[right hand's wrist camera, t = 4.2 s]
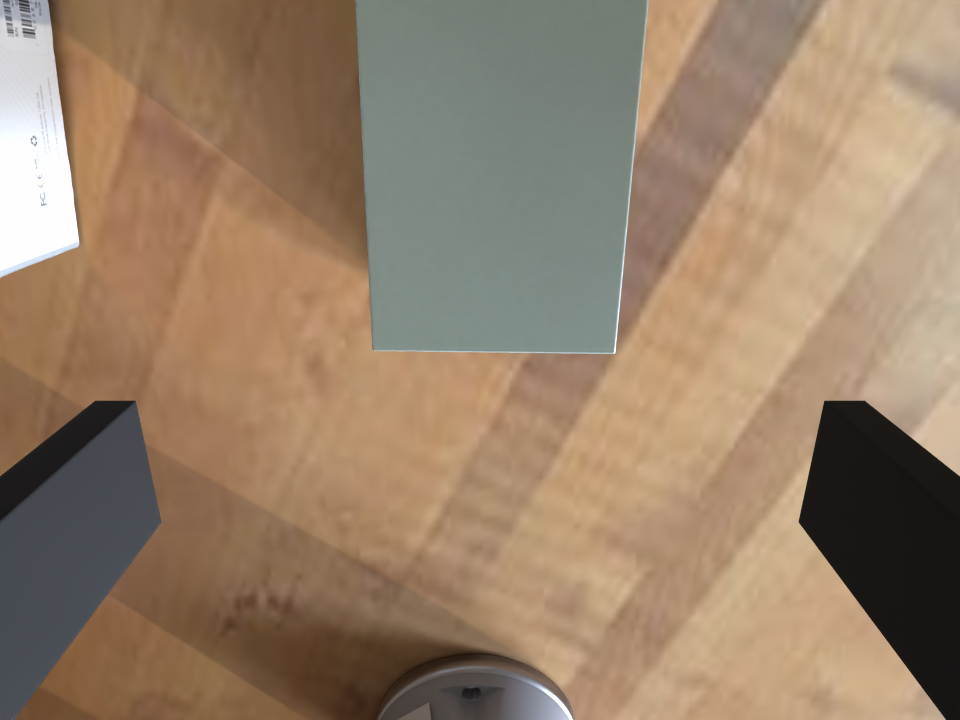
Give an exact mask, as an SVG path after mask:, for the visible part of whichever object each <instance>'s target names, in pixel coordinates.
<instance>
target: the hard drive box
mask: <svg viewBox="0 0 960 720" xmlns="http://www.w3.org/2000/svg"><path fill="white" fill-rule="evenodd" d="M78 246H79V238H78V230H77V222H76V215H75V208H74V196H73V189H72V182H71V172H70V165H69V160H68V156H67V147H66V140H65V133H64V125H63V116H62V108H61V101H60V95H59V88H58V79H57V71H56V63H55V56H54V50H53V33H52V27H51V21H50V12H49V4H48V0H0V277H2V276H5V275H7V274H10V273H12V272H15V271H17V270H19V269H22V268H24V267H27V266H29V265H32V264H35V263H37V262H40V261H43V260H45V259H48V258H50V257H53V256H55V255H58V254H60V253H63V252H65V251H68V250H71V249H73V248H77V247H78Z"/></svg>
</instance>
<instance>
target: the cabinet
mask: <svg viewBox="0 0 960 720" xmlns="http://www.w3.org/2000/svg"><path fill="white" fill-rule="evenodd" d="M355 5H356V25H357V45H358V66H359V86H360V106H361V126H362V147H363V167H364V187H365V207H366V228H367V248H368V268H369V288H370V309H371V329H372V349H373V350H374V351H432V352H514V353H596V354H614V353H615V349H616V339H617V328H618V318H619V307H620V296H621V286H622V275H623V265H624V254H625V244H626V233H627V222H628V212H629V201H630V191H631V180H632V170H633V159H634V148H635V138H636V127H637V117H638V106H639V96H640V85H641V74H642V64H643V53H644V43H645V32H646V22H647V11H648V0H355Z"/></svg>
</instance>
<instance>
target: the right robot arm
mask: <svg viewBox="0 0 960 720" xmlns="http://www.w3.org/2000/svg"><path fill="white" fill-rule="evenodd" d="M160 523H161V518H160V513H159V509H158V504H157V499H156V495H155V490H154V485H153V480H152V476H151V471H150V466H149V462H148V457H147V452H146V448H145V443H144V438H143V433H142V429H141V424H140V419H139V415H138V410H137V405H136V401H95V402H93V403H92V404H91V405H90V406H88V407H87V408H86V409H84V410H83V411H82V412H81V413H79V414H78V415H77V416H76V417H74V418H73V419H72V420H71V421H69V422H68V423H67V424H66V425H64V426H63V427H62V428H61V429H59V430H58V431H57V432H56V433H54V434H53V435H52V436H51V437H49V438H48V439H47V440H45V441H44V442H43V443H42V444H40V445H39V446H38V447H37V448H35V449H34V450H33V451H32V452H30V453H29V454H28V455H27V456H25V457H24V458H23V459H22V460H20V461H19V462H18V463H17V464H15V465H14V466H13V467H12V468H10V469H9V470H8V471H7V472H5V473H4V474H3V475H1V476H0V720H14V719H15V718H16V716H17V715H18V714H19V712H20V711H21V710H22V708H23V707H24V706H25V704H26V703H27V702H28V700H29V699H30V697H31V696H32V695H33V693H34V692H35V691H36V689H37V688H38V687H39V685H40V684H41V683H42V681H43V680H44V679H45V677H46V676H47V675H48V673H49V672H50V671H51V669H52V668H53V667H54V665H55V664H56V663H57V661H58V660H59V659H60V657H61V656H62V655H63V653H64V652H65V651H66V649H67V648H68V647H69V645H70V644H71V643H72V641H73V640H74V639H75V637H76V636H77V634H78V633H79V632H80V630H81V629H82V628H83V626H84V625H85V624H86V622H87V621H88V620H89V618H90V617H91V616H92V614H93V613H94V612H95V610H96V609H97V608H98V606H99V605H100V604H101V602H102V601H103V600H104V598H105V597H106V596H107V594H108V593H109V592H110V590H111V589H112V588H113V586H114V585H115V584H116V582H117V581H118V580H119V578H120V577H121V576H122V574H123V573H124V571H125V570H126V569H127V567H128V566H129V565H130V563H131V562H132V561H133V559H134V558H135V557H136V555H137V554H138V553H139V551H140V550H141V549H142V547H143V546H144V545H145V543H146V542H147V541H148V539H149V538H150V537H151V535H152V534H153V533H154V531H155V530H156V529H157V527H158V526H159V525H160ZM799 523H800V525H801V526H802V527H803V529H804V530H805V531H806V533H807V534H808V535H809V537H810V538H811V539H812V541H813V542H814V543H815V545H816V546H817V547H818V549H819V550H820V551H821V553H822V554H823V555H824V557H825V558H826V559H827V561H828V562H829V563H830V565H831V566H832V567H833V569H834V570H835V571H836V573H837V574H838V576H839V577H840V578H841V580H842V581H843V582H844V584H845V585H846V586H847V588H848V589H849V590H850V592H851V593H852V594H853V596H854V597H855V598H856V600H857V601H858V602H859V604H860V605H861V606H862V608H863V609H864V610H865V612H866V613H867V614H868V616H869V617H870V618H871V620H872V621H873V622H874V624H875V625H876V626H877V628H878V629H879V630H880V632H881V633H882V634H883V636H884V637H885V639H886V640H887V641H888V643H889V644H890V645H891V647H892V648H893V649H894V651H895V652H896V653H897V655H898V656H899V657H900V659H901V660H902V661H903V663H904V664H905V665H906V667H907V668H908V669H909V671H910V672H911V673H912V675H913V676H914V677H915V679H916V680H917V681H918V683H919V684H920V685H921V687H922V688H923V689H924V691H925V692H926V693H927V695H928V696H929V697H930V699H931V700H932V702H933V703H934V704H935V706H936V707H937V708H938V710H939V711H940V712H941V714H942V715H943V716H944V718H945V719H946V720H960V476H959V475H957V474H956V473H955V472H953V471H952V470H951V469H950V468H948V467H947V466H946V465H945V464H943V463H942V462H941V461H940V460H938V459H937V458H936V457H935V456H933V455H932V454H931V453H930V452H928V451H927V450H926V449H925V448H923V447H922V446H921V445H920V444H918V443H917V442H916V441H915V440H913V439H912V438H911V437H909V436H908V435H907V434H906V433H904V432H903V431H902V430H901V429H899V428H898V427H897V426H896V425H894V424H893V423H892V422H891V421H889V420H888V419H887V418H886V417H884V416H883V415H882V414H881V413H879V412H878V411H877V410H876V409H874V408H873V407H872V406H870V405H869V404H868V403H867V402H865V401H824V405H823V410H822V415H821V419H820V424H819V429H818V433H817V438H816V443H815V448H814V452H813V457H812V462H811V466H810V471H809V476H808V480H807V485H806V490H805V495H804V499H803V504H802V509H801V513H800V518H799ZM376 720H574V716H573V712H572V709H571V706H570V704H569V702H568V700H567V698H566V696H565V695H564V693H563V692H562V691H561V690H560V688H559V687H558V686H557V685H556V684H555V683H554V682H553V681H552V680H550V679H549V678H548V677H547V676H545V675H544V674H542V673H541V672H539V671H538V670H536V669H534V668H532V667H530V666H528V665H526V664H523V663H521V662H518V661H515V660H512V659H508V658H504V657H499V656H493V655H481V654H470V655H458V656H451V657H446V658H442V659H438V660H435V661H432V662H429V663H427V664H424V665H422V666H420V667H418V668H416V669H414V670H412V671H411V672H409V673H408V674H406V675H405V676H404V677H402V678H401V679H400V680H399V681H397V682H396V683H395V684H394V685H393V686H392V688H391V689H390V690H389V691H388V692H387V694H386V695H385V697H384V698H383V700H382V702H381V704H380V707H379V710H378V713H377V718H376Z"/></svg>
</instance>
